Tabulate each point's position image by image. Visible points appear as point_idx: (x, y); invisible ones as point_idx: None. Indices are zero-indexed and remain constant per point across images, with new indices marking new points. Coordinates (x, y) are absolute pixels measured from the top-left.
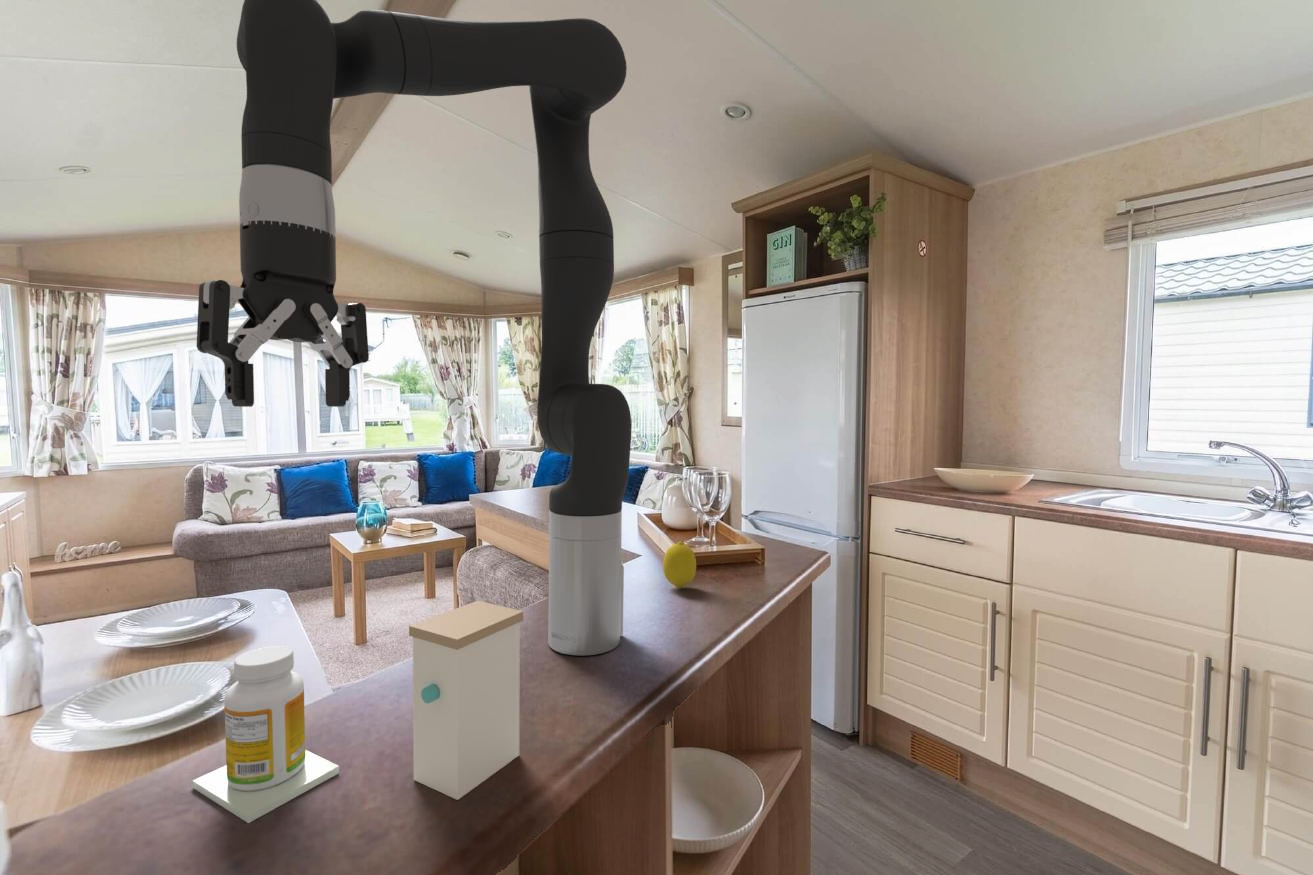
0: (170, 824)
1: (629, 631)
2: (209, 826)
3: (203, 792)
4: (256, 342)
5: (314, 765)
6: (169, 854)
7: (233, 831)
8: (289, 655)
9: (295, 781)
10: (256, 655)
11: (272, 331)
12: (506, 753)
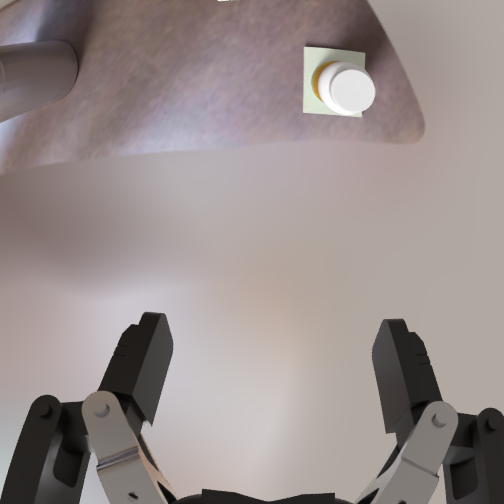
0: (384, 93)
1: None
2: (375, 71)
3: None
4: (414, 460)
5: (313, 61)
6: (397, 69)
7: (371, 54)
8: (342, 71)
9: (330, 56)
10: (357, 96)
11: (387, 498)
12: None
